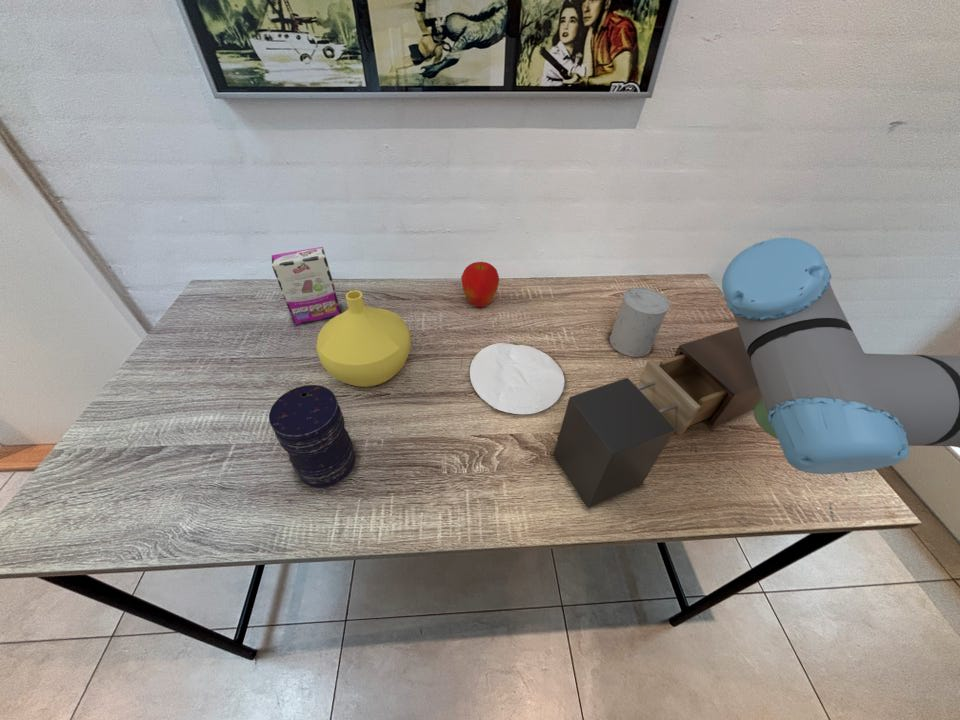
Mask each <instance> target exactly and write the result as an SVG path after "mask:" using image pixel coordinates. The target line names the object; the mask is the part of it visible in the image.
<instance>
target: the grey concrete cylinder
mask: <svg viewBox="0 0 960 720" xmlns="http://www.w3.org/2000/svg"><path fill="white" fill-rule="evenodd" d="M670 303H671V302H670V301H669V299H668V297H666V295H664V294H663V293H661V292H660V291H658V290H656V289H652V288H649V287H643V286H642V287H641V286H639V287H638V286H637V287H632V288H629V289H627V290H626V291H625V292H624V294H623V297H622V300H621V303H620V306H619V309H618V313H617V315H616V319H615V321H614V325H613V328H612V331H611V334H610V335H609V344H610V346H611V347H612V348H613V349H614V350H615V351H616V352H618V353H621V354H622V355H624V356H628V357H634V358H637V357H644V356H646V355H648V354H649V353H650V352H651V350H652V347H653V344H654V342H655V340H656V338H657V336H658V334H659V332H660V329H661V326H662V324H663V321H664V320H665V317H666V315H667V313H668V310H669V309H670V306H671V304H670Z"/></svg>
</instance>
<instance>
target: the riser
mask: <svg viewBox="0 0 960 720" xmlns="http://www.w3.org/2000/svg"><path fill="white" fill-rule="evenodd" d="M636 386H637V385H635V384H634V383H633V382H632V381H631V379H630V378H628V377H624V378H622V379H619V380H615V381H613V382H610V383H607V384H604V385H602V386H598V387H595V388H593V389H590V390H586V391H583V392H580V393H577V394H573V395H571V396H569V398H568V401H567V403H566V404H567V405H566V407H565V408H566V409H565V411H564V416H563V419H562V423H561V426H560V430H559V433H558V437H557V441H556V443H555V444H556V445H555V448H554V451H553V456H554V459H556V461H557V463H558V464H559V466H560V467H561V469H562V470H563V472H564V474H565V475H566V476H567V478H568V480H569V482H570V483H571V485H573V487H574V489H575V491H576V492H577V494H578V495H579V497H580V498H581V501H583V503H584V505H585V507H586V508H587V509H590V508H592V507H594V506H595V507H596V506H597V505H599V504H602V503H604V502H606V501H608V500H611V499H613V498H615V497H618V496H619V495H622V494H625V493H626V492H629V491H631V490H633V489H636V488H638V487H640V486H642V485H643V483H644V482H645V480H646V478H647V477H648V475H649V474H650V472H651V470H652V469H653V467H654V466H655V464H656V462H657V460H658V459H659V457H660V456H661V454H662V452H664V449H665V448H666V446H667V444H668V443H669V441H670V440H671V438H672V436H673V435H674V433H675V432H676V431H675V428H674V427H673V426H672V425H671V424H670V423H669V422H668V421H667V420H666V418H665V417H664V416H663V415H662V414H661V413H660V412H659V411H658V410H657V409H656V408H655V407H654V406H653V404H652V403H651V402H650V401H649V400H648V399H647V398H646V397H645V396H644V395H643V394H642V393H641V392H640V390H639V389H638V388H637V387H636Z"/></svg>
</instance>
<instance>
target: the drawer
mask: <svg viewBox="0 0 960 720" xmlns="http://www.w3.org/2000/svg"><path fill="white" fill-rule="evenodd" d="M635 386H636V387H637V388H638V389H639V390H640V392H641V393H642V394H643V395H644V396H645V397H646V398H647V399H648V400H649V401H650V402H651V403H652V404H653V406H654V407H655V408H656V409H657V410H658V411H659V412H660V413H661V414H662V415H663V416H664V417H665V418H666V420H667V421H668V422H669V423H670V424H671V425H672V426H673V427H674V428H675V431H674V432H676V433H677V435H678V436H680V435H683V434H685V432H686V430H687V429H688V428H689V426H692V425H695V424H697V423H700V422H702V421H705V419H707V418H710V417H712V416H714V415H715V413H716V412H717V410H718V409H719V408H720V406H721V405H722V403H723V402H724V400H725V399H726V397H727V396H728V395H729V394H728V393H727V392H726V391H725V390H724V389H723V388H722V387H721V386H719V385H718V384H717V383H716V382H715V381H714V380H713V379H712V378H710V377H709V376H708V375H707V374H706V373H705V372H704V371H703V370H701V369H700V368H699V367H698V366H697V365H696V364H695V363H694V362H692V361H691V360H690V359H689V358H688V357H687V356H686V355H685V354H682V355H679V356H676V357H674V356H672V357H670V358H667V359H664V360H661V361H660V362H659V363H657V362H655V361H654V360H653V359H650V360H648V361H647V362H646V365H645V366H644V369H643V371H642V373H641V375H640V378H639V380H638V383H637V384H636V385H635Z"/></svg>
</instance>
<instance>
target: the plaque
mask: <svg viewBox="0 0 960 720" xmlns="http://www.w3.org/2000/svg"><path fill="white" fill-rule="evenodd" d="M469 379H470V382H471V385H472V387H473V389H474V391H475V392H476V393H477V395H478V397H480V398H481V400H482V401H484V402H485V403H486V404H488V405H489V406H491V407H492V408H493V409H495V410H498V411H501V412H504V413H508V414H512V415H513V414H514V415H533V414H536V413H537V414H538V413H540V412H542V411H545V410H547V409H549V408H550V407H552V406H553V405H554V404H556V402H558V400H559V399H560V397H561V395H562V393H563V392H564V388H565V375H564V372H563V370H562V369H561V367H560V366H559V365H558V363H557V362H556V361H555V359H553V358H552V357H551V356H550V355H548V354H546V352H544V351H541V350H539V349H537V348H535V347H532V346H529V345H525V344H513V343H504V342H496V343H493V344H490V345H488V346H486V347H484V348H482V349H481V350H480V351H479V352H478V353H476V354H475V356H474V357H473V359H472V362H471V364H470V366H469Z"/></svg>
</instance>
